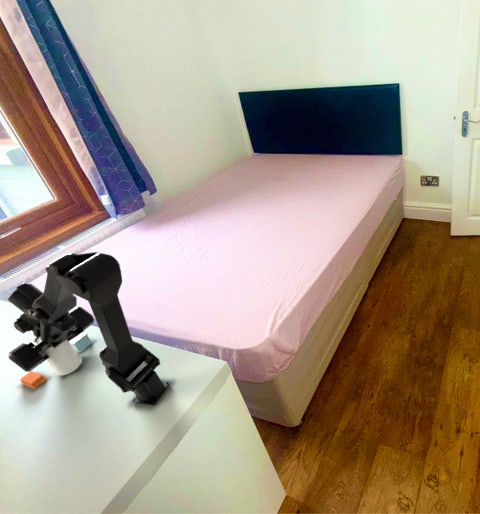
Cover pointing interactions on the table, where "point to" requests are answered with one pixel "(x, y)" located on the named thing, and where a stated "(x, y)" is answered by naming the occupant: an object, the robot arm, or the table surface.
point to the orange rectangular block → (33, 379)
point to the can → (62, 357)
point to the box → (80, 342)
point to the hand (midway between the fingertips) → (54, 349)
